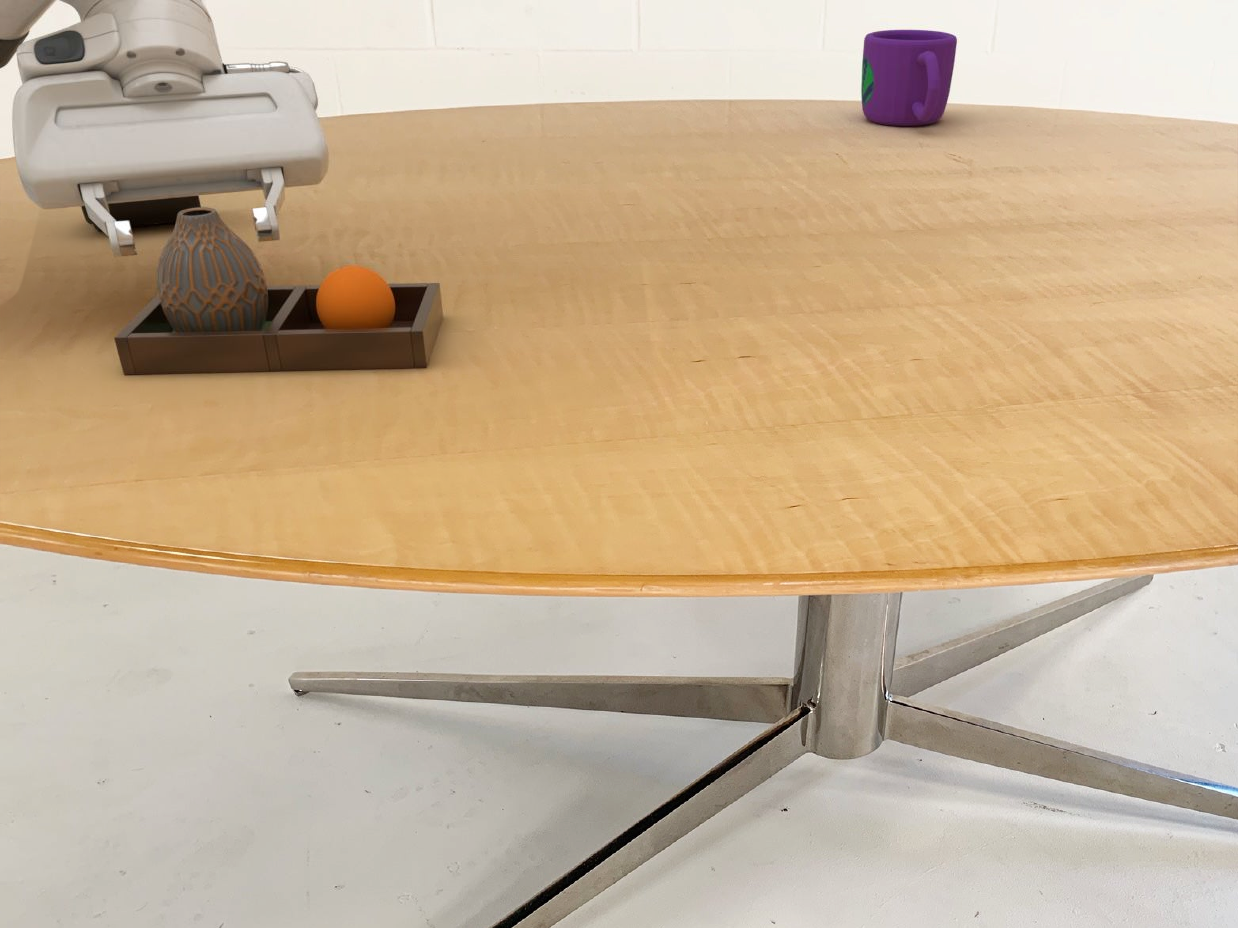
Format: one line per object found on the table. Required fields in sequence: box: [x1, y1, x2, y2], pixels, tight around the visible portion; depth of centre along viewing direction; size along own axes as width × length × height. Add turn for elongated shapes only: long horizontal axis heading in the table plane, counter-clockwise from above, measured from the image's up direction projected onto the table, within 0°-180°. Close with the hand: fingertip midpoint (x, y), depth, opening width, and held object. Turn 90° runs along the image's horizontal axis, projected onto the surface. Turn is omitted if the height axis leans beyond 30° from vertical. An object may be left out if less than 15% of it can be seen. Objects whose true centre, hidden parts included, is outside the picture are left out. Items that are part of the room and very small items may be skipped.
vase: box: [156, 206, 268, 332], centre depth 78 cm, size 7×7×9 cm
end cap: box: [80, 195, 202, 231], centre depth 108 cm, size 10×7×7 cm
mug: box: [860, 29, 958, 127], centre depth 145 cm, size 17×11×10 cm, turn 6°
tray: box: [114, 282, 444, 377], centre depth 80 cm, size 20×10×3 cm, turn 93°
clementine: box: [316, 265, 395, 329], centre depth 79 cm, size 5×5×5 cm
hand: (198, 244), depth 80 cm, fingers open, 8 cm apart
